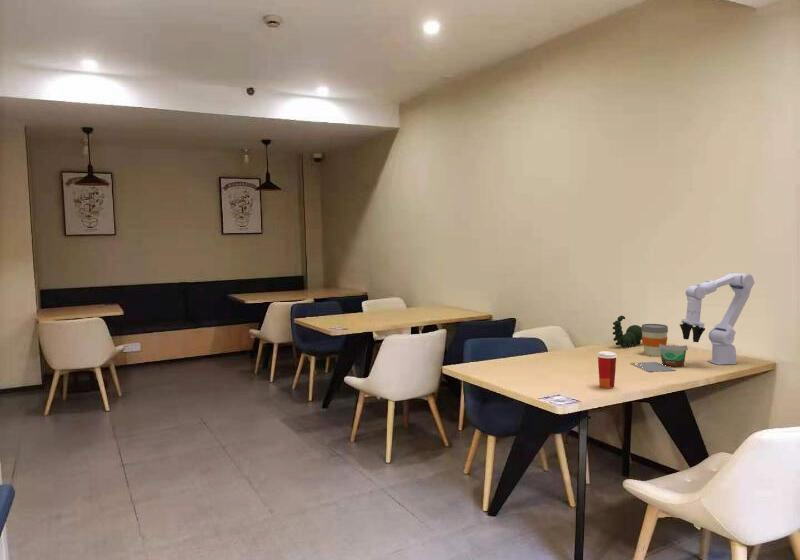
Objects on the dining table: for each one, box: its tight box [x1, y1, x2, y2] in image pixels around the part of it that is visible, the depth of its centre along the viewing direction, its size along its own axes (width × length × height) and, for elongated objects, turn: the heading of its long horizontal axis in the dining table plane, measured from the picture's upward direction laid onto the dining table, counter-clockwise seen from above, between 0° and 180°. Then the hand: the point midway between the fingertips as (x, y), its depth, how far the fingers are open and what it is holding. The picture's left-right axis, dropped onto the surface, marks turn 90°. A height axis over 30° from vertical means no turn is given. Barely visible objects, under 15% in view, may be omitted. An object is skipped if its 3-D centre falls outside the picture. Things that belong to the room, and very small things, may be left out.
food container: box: [659, 344, 689, 368], centre depth 260 cm, size 12×6×10 cm, turn 62°
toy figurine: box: [612, 315, 642, 348], centre depth 308 cm, size 9×19×25 cm
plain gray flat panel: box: [630, 361, 677, 373], centre depth 260 cm, size 13×17×1 cm
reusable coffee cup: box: [641, 323, 669, 357], centre depth 285 cm, size 13×13×15 cm
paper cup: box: [596, 350, 618, 389], centre depth 229 cm, size 8×8×14 cm
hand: (690, 340), depth 260 cm, fingers open, 7 cm apart
